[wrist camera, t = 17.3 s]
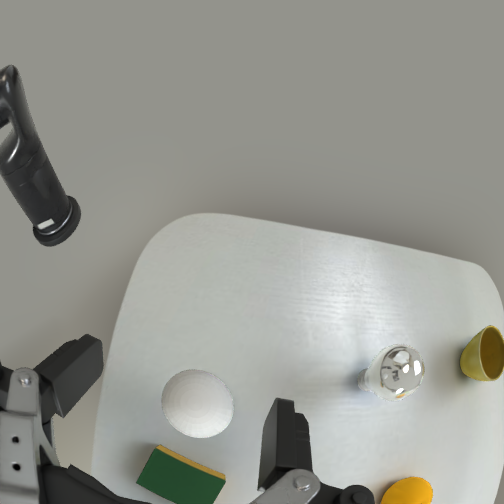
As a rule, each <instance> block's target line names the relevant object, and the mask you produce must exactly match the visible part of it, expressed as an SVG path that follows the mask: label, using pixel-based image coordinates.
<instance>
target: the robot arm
mask: <svg viewBox="0 0 504 504" xmlns="http://www.w3.org/2000/svg"><path fill="white" fill-rule="evenodd" d="M10 122H11V123H12V126H13V128H12V130H11V132H10V133H9V135H8V136H7V137H6V139H5V140H4V141H3V142H2V144H1V145H0V175H1V176H2V178H3V180H4V182H5V183H6V185H7V186H8V188H9V190H10V191H11V193H12V194H13V196H14V197H15V199H16V200H17V202H18V203H19V205H20V206H21V208H22V209H23V211H24V212H25V213H26V215H27V216H28V218H29V219H30V221H31V222H32V223H33V225H34V226H35V228H36V230H37V231H38V232H39V233H40V234H41V235H42V236H52V235H55V234H57V233H58V232H60V231H61V230H62V229H63V228H64V227H65V226H66V225H67V224H68V222H69V221H70V219H71V217H72V214H73V206H72V204H71V202H70V200H69V199H68V197H67V195H66V194H65V191H64V189H63V188H62V186H61V184H60V182H59V180H58V178H57V176H56V174H55V172H54V170H53V167H52V165H51V163H50V161H49V159H48V157H47V154H46V152H45V150H44V148H43V145H42V143H41V141H40V138H39V136H38V133H37V131H36V128H35V125H34V122H33V119H32V117H31V114H30V111H29V107H28V104H27V100H26V96H25V92H24V88H23V84H22V80H21V76H20V74H19V71H18V69H17V68H16V67H15V66H14V65H8V66H6V67H4V68H2V69H1V70H0V129H1V128H2V127H4V126H5V125H7V124H8V123H10ZM102 371H103V351H102V342H101V340H99V339H97V338H95V337H93V336H91V335H89V334H85V335H84V336H83V337H81V338H80V339H79V340H76V339H75V340H72V341H69V342H66V343H64V344H63V345H62V346H61V347H59V349H57V350H56V351H55V352H53V354H51V355H50V356H48V357H47V358H46V359H45V360H43V361H42V362H41V363H40V364H39V365H37V366H36V367H35V368H34V369H30V368H19V369H16V370H15V371H13V370H11V369H8V368H6V367H4V366H2V365H1V362H0V504H151V503H148V502H143V501H137V500H132V499H128V498H123V497H120V496H117V495H116V494H114V493H113V492H111V491H110V490H109V489H108V488H106V487H105V486H104V485H102V484H101V483H100V482H99V481H97V480H96V479H95V478H94V477H92V476H90V475H88V474H87V473H85V472H83V471H81V470H79V469H78V468H76V467H75V466H73V465H70V466H69V467H68V469H67V468H64V467H61V466H60V463H59V460H58V457H57V454H56V448H55V438H54V426H53V418H52V416H53V415H54V414H55V413H56V414H58V415H60V416H61V417H62V418H64V417H65V416H66V415H67V413H68V412H69V411H70V410H71V409H72V407H74V405H75V404H76V403H77V402H78V401H79V400H80V398H81V397H82V396H83V395H84V394H85V393H86V392H87V391H88V389H89V388H90V387H91V386H92V385H93V384H94V383H95V381H96V380H97V379H98V378H99V377H100V376H101V373H102ZM309 441H310V436H309V425H308V422H307V420H306V418H305V417H304V415H303V414H301V413H295V409H294V401H292V400H287V399H281V398H276V399H275V400H274V403H273V405H272V407H271V409H270V412H269V414H268V416H267V418H266V420H265V424H264V427H263V435H262V447H261V458H260V469H259V479H258V489H257V491H263V492H264V493H263V494H261V495H260V496H259V497H258V498H256V499H255V500H254V501H252V502H251V503H249V504H375V501H374V496H373V494H372V492H371V491H370V490H369V489H368V488H366V487H364V486H361V485H351V486H349V487H347V488H345V489H344V490H343V489H339V488H336V487H332V486H328V485H326V484H324V483H322V482H320V480H319V479H318V477H317V476H316V475H315V474H314V473H313V469H312V458H311V446H310V442H309Z"/></svg>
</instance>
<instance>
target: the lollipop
mask: <svg viewBox="0 0 504 504" xmlns="http://www.w3.org/2000/svg"><path fill="white" fill-rule="evenodd" d="M162 408H163V411H164V414H165V416H166V418H167V419H168V421H169V422H170V423H171V425H172V426H173V427H174V428H176V429H177V430H178V431H180V432H181V433H183V434H185V435H188V436H191V437H196V438H207V437H211V436H214V435H216V434H218V433H220V432H222V431H223V430H224V429H225V428H226V427H227V426H228V424H229V423H230V421H231V419H232V416H233V412H234V404H233V398H232V396H231V393H230V391H229V390H228V388H227V386H226V385H225V384H224V383H223V382H222V381H221V380H220V379H219V378H217V377H216V376H214V375H212V374H210V373H208V372H205V371H202V370H186V371H182V372H180V373H178V374H176V375H175V376H173V377H172V378H171V379H170V380H169V381H168V382H167V384H166V386H165V387H164V390H163V393H162Z"/></svg>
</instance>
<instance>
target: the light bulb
mask: <svg viewBox="0 0 504 504" xmlns="http://www.w3.org/2000/svg"><path fill="white" fill-rule="evenodd" d="M424 370H425V367H424V362H423V359H422V357H421V355H420V354H419V352H418V351H417V350H416V349H414V348H413V347H411V346H408V345H405V344H395V345H391V346H388V347H386V348H384V349H383V350H381V351H380V352H379V353H378V354H377V355H376V356H375V357H374V359H373V360H372V362H371V365H370V367H369V368H367V369H364V370H362V371H361V372H360V373H359V375H358V378H357V383H358V386H359V387H360V388H361V389H362V390H364V391H373V392H374V394H375V395H376V396H378V397H379V398H381V399H383V400H386V401H399V400H403V399H405V398H407V397H409V396H410V395H412V394H413V393H414V392H415V391H416V390H417V389H418V387H419V386H420V384H421V382H422V380H423V377H424Z"/></svg>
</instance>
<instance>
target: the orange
mask: <svg viewBox="0 0 504 504" xmlns="http://www.w3.org/2000/svg"><path fill="white" fill-rule="evenodd" d="M432 497H433V490H432V487H431V485H430V484H429V482H427V481H426V480H424V479H423V478H419V477H409V478H405V479H402V480H400V481H398V482H396V483H394V484H393V485H392V486H391V487H390V488H389V489H388V490H387V491H386V492H385V494H384V496H383V498H382V501H381V504H430V503H431V501H432Z"/></svg>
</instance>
